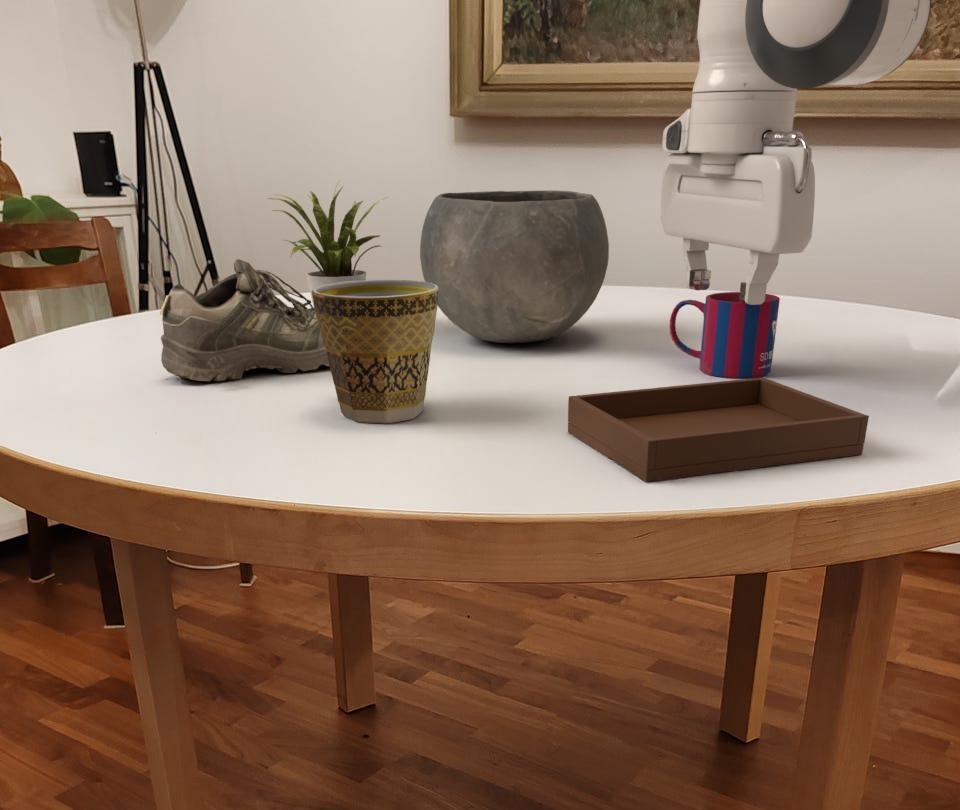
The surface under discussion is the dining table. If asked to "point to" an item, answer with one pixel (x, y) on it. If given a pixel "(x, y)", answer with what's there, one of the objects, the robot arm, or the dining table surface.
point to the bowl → (515, 261)
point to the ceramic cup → (378, 345)
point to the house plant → (331, 243)
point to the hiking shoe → (239, 329)
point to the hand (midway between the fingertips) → (723, 296)
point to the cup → (733, 335)
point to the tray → (714, 427)
